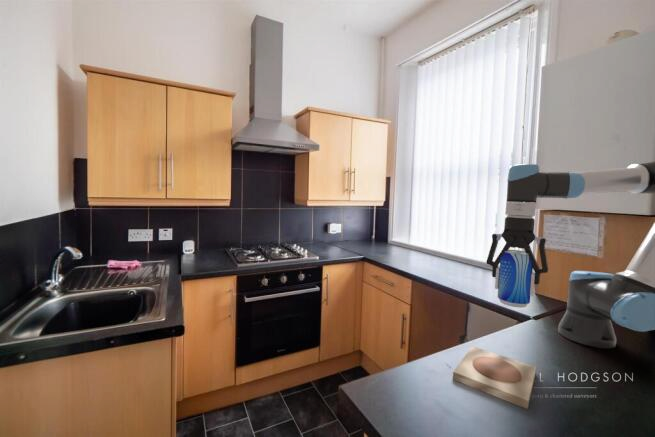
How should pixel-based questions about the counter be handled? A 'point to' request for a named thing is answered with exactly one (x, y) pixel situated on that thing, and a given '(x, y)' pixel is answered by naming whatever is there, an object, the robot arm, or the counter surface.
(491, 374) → the birch board
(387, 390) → the counter surface
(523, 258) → the beer can
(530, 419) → the counter surface
